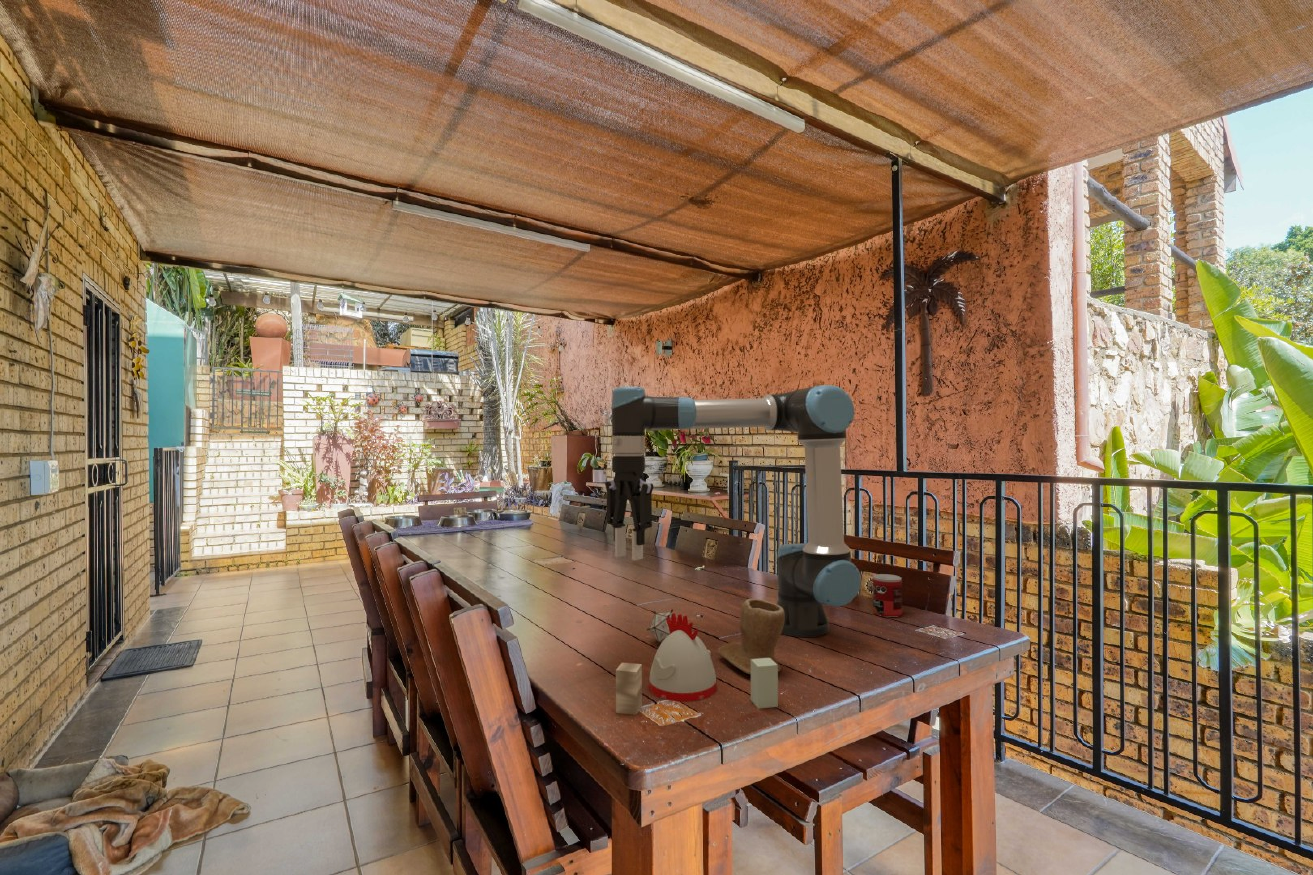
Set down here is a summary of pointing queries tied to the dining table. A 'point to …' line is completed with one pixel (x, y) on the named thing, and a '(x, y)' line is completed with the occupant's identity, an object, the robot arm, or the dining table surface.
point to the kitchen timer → (682, 665)
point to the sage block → (764, 683)
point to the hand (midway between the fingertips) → (628, 557)
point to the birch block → (628, 688)
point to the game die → (660, 626)
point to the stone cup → (755, 634)
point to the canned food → (887, 595)
